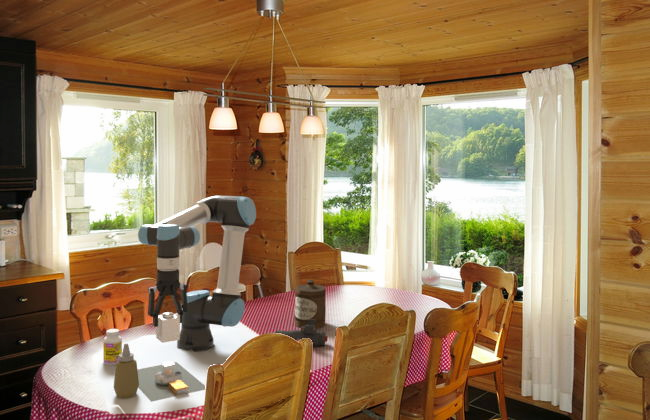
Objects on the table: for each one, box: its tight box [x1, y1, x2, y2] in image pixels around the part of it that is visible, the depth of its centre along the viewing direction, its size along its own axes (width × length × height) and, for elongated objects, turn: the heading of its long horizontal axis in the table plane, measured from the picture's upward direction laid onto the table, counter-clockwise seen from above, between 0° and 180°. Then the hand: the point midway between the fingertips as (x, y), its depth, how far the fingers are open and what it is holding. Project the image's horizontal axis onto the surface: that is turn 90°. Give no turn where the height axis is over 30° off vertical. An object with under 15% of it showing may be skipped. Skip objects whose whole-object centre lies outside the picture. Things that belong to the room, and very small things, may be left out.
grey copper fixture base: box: [155, 361, 189, 397], centre depth 203 cm, size 18×9×6 cm, turn 35°
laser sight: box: [274, 319, 329, 347], centre depth 253 cm, size 10×22×10 cm, turn 87°
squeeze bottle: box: [113, 343, 139, 400], centre depth 195 cm, size 8×8×18 cm
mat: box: [137, 361, 206, 402], centre depth 209 cm, size 20×30×1 cm, turn 35°
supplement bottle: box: [103, 328, 123, 366], centre depth 225 cm, size 7×7×13 cm
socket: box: [155, 311, 181, 343], centre depth 205 cm, size 6×6×9 cm
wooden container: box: [294, 279, 327, 330], centre depth 282 cm, size 15×15×22 cm
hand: (167, 333), depth 205 cm, fingers closed on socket, 6 cm apart
